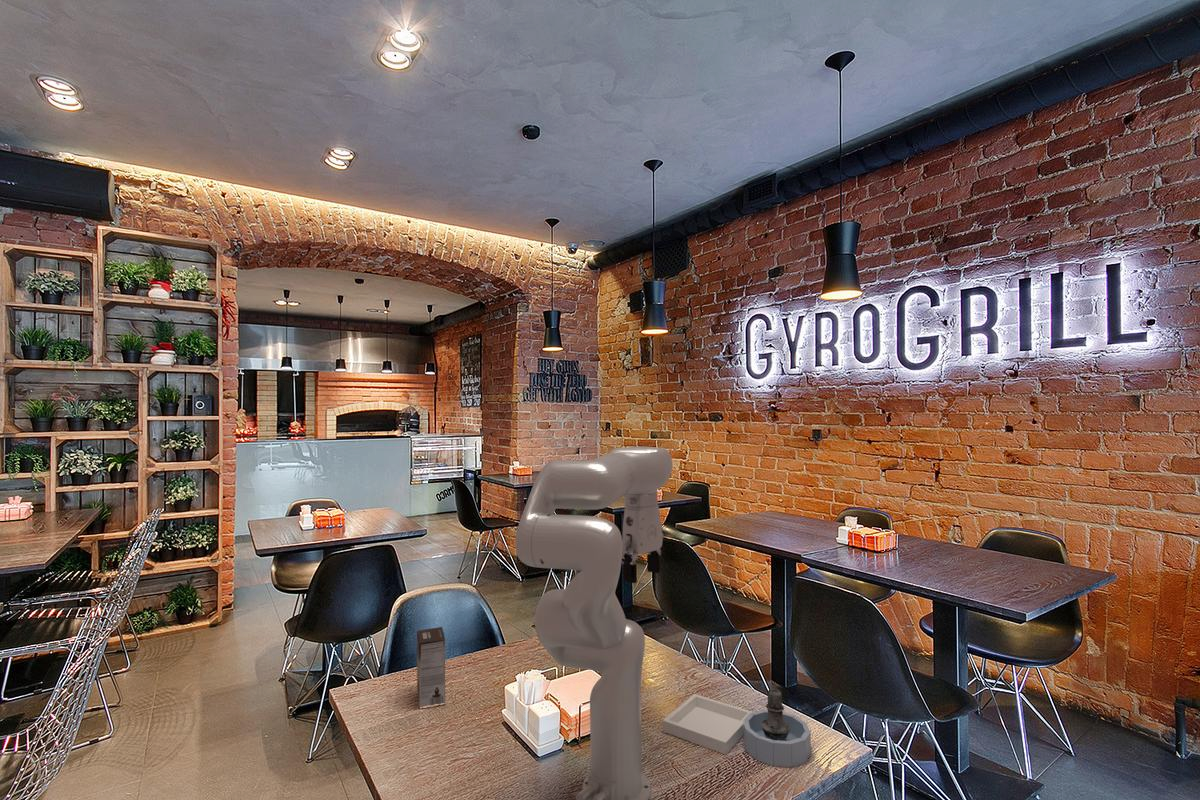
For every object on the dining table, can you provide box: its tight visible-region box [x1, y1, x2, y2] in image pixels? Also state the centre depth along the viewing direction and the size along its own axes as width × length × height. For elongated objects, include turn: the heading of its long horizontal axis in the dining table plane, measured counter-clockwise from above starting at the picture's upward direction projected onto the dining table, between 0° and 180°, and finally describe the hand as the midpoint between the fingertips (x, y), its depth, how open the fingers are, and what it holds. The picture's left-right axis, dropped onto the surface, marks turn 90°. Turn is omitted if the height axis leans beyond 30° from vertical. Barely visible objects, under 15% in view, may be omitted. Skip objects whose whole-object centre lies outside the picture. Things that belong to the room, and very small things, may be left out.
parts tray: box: [662, 693, 754, 756], centre depth 128 cm, size 15×15×2 cm
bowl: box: [743, 709, 812, 768], centre depth 120 cm, size 13×13×4 cm
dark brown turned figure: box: [761, 684, 790, 741], centre depth 120 cm, size 6×6×12 cm
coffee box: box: [416, 626, 446, 707], centre depth 143 cm, size 9×6×16 cm
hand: (642, 576), depth 130 cm, fingers open, 9 cm apart
